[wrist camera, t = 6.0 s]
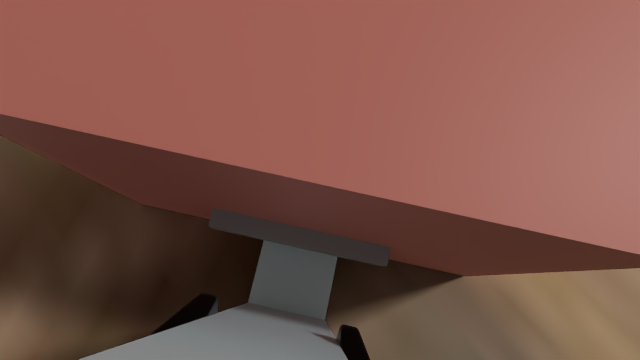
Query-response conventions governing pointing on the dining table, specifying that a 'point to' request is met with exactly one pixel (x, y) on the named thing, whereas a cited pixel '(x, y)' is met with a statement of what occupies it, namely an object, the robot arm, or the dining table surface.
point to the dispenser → (349, 121)
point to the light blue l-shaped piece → (256, 318)
